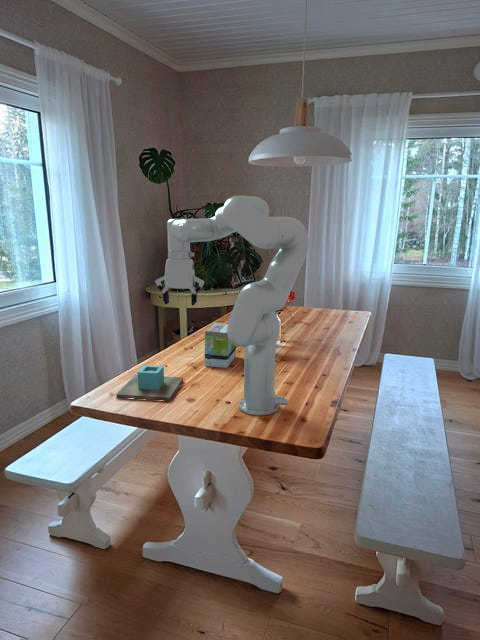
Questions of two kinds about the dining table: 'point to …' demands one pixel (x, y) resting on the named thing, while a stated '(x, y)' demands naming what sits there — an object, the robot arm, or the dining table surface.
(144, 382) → the collar
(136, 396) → the post board
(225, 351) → the tea box
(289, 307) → the dining table surface
